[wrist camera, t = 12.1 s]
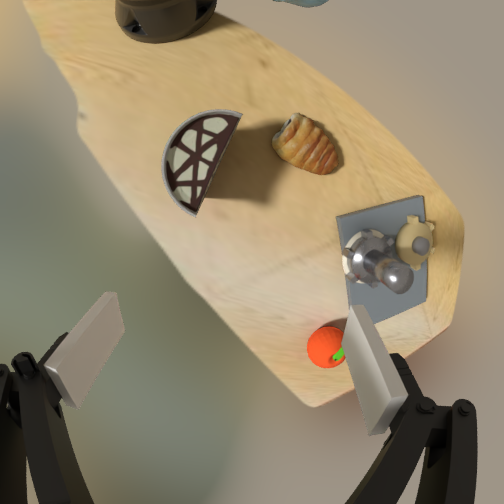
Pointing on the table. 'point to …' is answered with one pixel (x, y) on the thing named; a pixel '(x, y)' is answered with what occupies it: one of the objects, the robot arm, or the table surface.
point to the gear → (376, 263)
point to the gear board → (403, 250)
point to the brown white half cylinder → (196, 156)
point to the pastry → (305, 146)
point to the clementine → (326, 347)
